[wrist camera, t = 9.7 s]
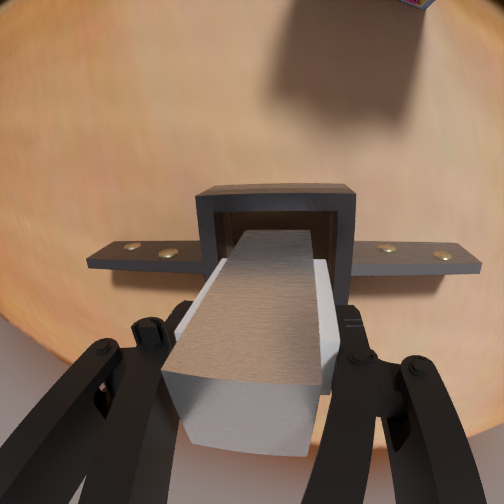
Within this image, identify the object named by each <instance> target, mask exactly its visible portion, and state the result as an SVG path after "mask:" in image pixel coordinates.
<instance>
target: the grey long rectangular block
mask: <svg viewBox="0 0 504 504" xmlns="http://www.w3.org/2000/svg"><path fill="white" fill-rule="evenodd" d="M161 372H162V375H163V378H164V380H165V383H166V386H167V388H168V391H169V393H170V396H171V398H172V401H173V403H174V406H175V408H176V410H177V413H178V415H179V417H180V419H181V422H182V424H183V426H184V428H185V431H186V433H187V435H188V437H189V439H190V441H191V443H192V444H196V445H201V446H206V447H212V448H217V449H224V450H230V451H237V452H245V453H255V454H265V455H280V456H307V454H308V450H309V446H310V441H311V437H312V432H313V428H314V423H315V418H316V413H317V408H318V403H319V398H320V392H321V387H322V376H321V352H320V334H319V318H318V305H317V292H316V281H315V271H314V261H313V251H312V242H311V234H310V230H245V232H244V233H243V235H242V236H241V238H240V240H239V241H238V243H237V244H236V246H235V248H234V249H233V251H232V252H231V254H230V256H229V257H228V259H227V261H226V262H225V264H224V265H223V267H222V269H221V270H220V272H219V273H218V275H217V277H216V278H215V280H214V282H213V283H212V285H211V287H210V288H209V290H208V291H207V293H206V295H205V296H204V298H203V300H202V301H201V303H200V305H199V306H198V308H197V310H196V311H195V313H194V315H193V316H192V318H191V319H190V321H189V323H188V324H187V326H186V328H185V329H184V331H183V333H182V334H181V336H180V338H179V340H178V341H177V343H176V345H175V346H174V348H173V350H172V351H171V353H170V355H169V356H168V358H167V360H166V361H165V363H164V365H163V366H162V368H161Z"/></svg>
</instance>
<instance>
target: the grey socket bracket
mask: <svg viewBox="0 0 504 504" xmlns="http://www.w3.org/2000/svg"><path fill="white" fill-rule="evenodd" d="M195 199H196V209H197V218H198V227H199V236H200V241H116V242H112V243H110V244H109V245H107V246H106V247H104V248H102V249H101V250H99V251H98V252H96V253H94V254H93V255H91V256H90V257H88V258H87V259H86V261H87V265H88V268H93V269H110V270H130V271H151V272H175V273H203V274H204V275H205V282H207V281H208V279H209V278H210V276H211V274H212V273H213V271H214V270H215V268H216V267H217V265H218V264H219V262H220V261H221V259H222V258H228V257H229V256H230V254H231V252H232V251H233V249H234V248H233V236H232V223H231V212H239V211H330V229H329V254H328V273H329V278H330V283H331V289H332V294H333V300H334V305H348V297H349V289H350V280H351V276H405V275H453V274H480V270H481V266H482V262H480V261H479V260H478V259H477V258H475V257H474V256H473V255H472V254H470V253H469V252H468V251H467V250H465V249H464V248H463V247H462V246H460V245H459V244H458V243H431V242H377V241H354V232H355V213H356V193H355V192H354V191H352V190H351V189H350V188H349V187H348V186H346V185H345V184H319V183H287V184H246V185H223V186H214V187H212V188H210V189H208V190H206V191H204V192H202V193H200V194H198V195H196V196H195Z"/></svg>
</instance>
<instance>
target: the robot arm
mask: <svg viewBox="0 0 504 504" xmlns="http://www.w3.org/2000/svg"><path fill="white" fill-rule="evenodd" d="M227 259H228V258H222V259H221V261H220V262H219V264H218V265H217V267H216V268H215V270H214V271H213V273H212V274H211V276H210V278H209V279H208V281H207V282H206V284H205V285H204V287H203V288H202V290H201V291H200V293H199V294H198V296H197V297H196V299H195V300H194V301H185V300H184V301H183V302H181V303H180V304H178V305H177V306H176V307H175V308H174V310H173V311H172V314H170V315H169V317H168V319H167V320H166V321H165V322H164V321H163V320H162V319H160V318H157V317H147V318H143V319H140V320H138V321H137V322H135V323H134V324H133V325H132V326H131V329H132V332H133V335H134V338H135V341H136V343H137V346H136V347H132V348H120V347H119V345H118V343H117V341H116V340H114V339H112V338H104V339H100V340H98V341H96V342H94V343H93V344H92V345H91V346H90V347H89V348H88V349H87V350H86V351H85V352H84V353H83V354H82V355H81V356H80V357H79V358H78V359H77V360H76V361H75V362H74V363H73V365H72V366H71V367H70V368H69V369H68V370H67V371H66V372H65V373H64V374H63V376H61V378H60V379H59V380H58V381H57V382H56V383H55V384H54V385H53V386H52V388H50V390H49V391H48V392H47V393H46V394H45V395H44V397H42V399H41V400H40V401H39V402H38V403H37V404H36V406H35V407H34V408H33V409H32V410H31V411H30V413H29V414H28V415H27V416H26V417H25V418H24V420H23V421H22V422H21V423H20V424H19V426H18V427H17V428H16V429H15V430H14V431H13V433H12V434H11V435H10V436H9V438H8V439H7V440H6V441H5V443H4V444H3V445H2V446H1V448H0V504H68V503H69V501H70V500H71V498H72V497H73V495H74V494H75V492H76V490H77V489H78V487H79V486H80V484H81V483H82V481H83V479H84V478H85V476H86V479H85V482H84V485H83V489H82V492H81V495H80V499H79V502H78V504H167V499H168V491H169V484H170V476H171V469H172V463H173V455H174V450H175V443H176V437H177V431H178V425H179V419H180V417H179V415H178V413H177V410H176V408H175V406H174V403H173V401H172V398H171V396H170V393H169V391H168V388H167V386H166V383H165V380H164V378H163V375H162V372H161V368H162V366H163V365H164V363H165V361H166V360H167V358H168V356H169V355H170V353H171V351H172V350H173V348H174V346H175V345H176V343H177V341H178V340H179V338H180V336H181V334H182V333H183V331H184V329H185V328H186V326H187V324H188V323H189V321H190V319H191V318H192V316H193V315H194V313H195V311H196V310H197V308H198V306H199V305H200V303H201V301H202V300H203V298H204V296H205V295H206V293H207V291H208V290H209V288H210V287H211V285H212V283H213V282H214V280H215V278H216V277H217V275H218V273H219V272H220V270H221V269H222V267H223V265H224V264H225V262H226V261H227ZM313 261H314V271H315V281H316V292H317V305H318V318H319V334H320V352H321V376H322V387H321V392H320V395H330V392H331V389H332V397H331V402H330V406H329V410H328V414H327V418H326V422H325V426H324V430H323V434H322V438H321V441H320V445H319V449H318V452H317V456H316V459H315V462H314V466H313V469H312V472H311V475H310V478H309V481H308V484H307V488H306V490H305V493H304V496H303V498H302V501H301V504H363V500H364V495H365V490H366V485H367V479H368V474H369V468H370V462H371V455H372V448H373V440H374V431H375V421H376V417H381V421H382V425H383V430H384V434H385V439H386V444H387V449H388V455H389V460H390V466H391V472H392V478H393V485H394V492H395V500H396V504H487V503H486V499H485V494H484V491H483V487H482V483H481V480H480V476H479V473H478V469H477V466H476V463H475V460H474V457H473V454H472V452H471V448H470V445H469V443H468V440H467V437H466V435H465V432H464V429H463V427H462V424H461V422H460V419H459V417H458V415H457V412H456V410H455V407H454V405H453V403H452V401H451V398H450V396H449V394H448V392H447V389H446V387H445V385H444V383H443V381H442V379H441V377H440V375H439V373H438V371H437V369H436V367H435V365H434V364H433V362H432V361H431V360H429V359H428V358H426V357H423V356H420V355H412V356H409V357H406V358H405V359H404V360H403V361H402V363H401V364H395V363H389V362H385V361H382V360H380V359H378V356H377V354H376V353H375V352H374V351H373V350H372V349H370V347H369V343H368V339H367V336H366V332H365V328H364V326H363V321H362V318H361V315H360V311H359V310H358V309H357V308H356V307H355V306H354V305H334V300H333V294H332V289H331V283H330V278H329V273H328V268H327V263H326V259H313ZM102 383H104V385H105V388H104V389H103V390H102V391H101V390H100V388H99V387H100V385H101V384H102Z"/></svg>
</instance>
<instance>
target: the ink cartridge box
mask: <svg viewBox="0 0 504 504" xmlns="http://www.w3.org/2000/svg"><path fill="white" fill-rule="evenodd" d="M400 1H402V2H405V3H407V4H410V5H412V6H414V7H417V8H419V9H422V10H425V9H426V8H428V7H429V6H430V5H431V4H432V3H433V2H434V1H435V0H400Z"/></svg>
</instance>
